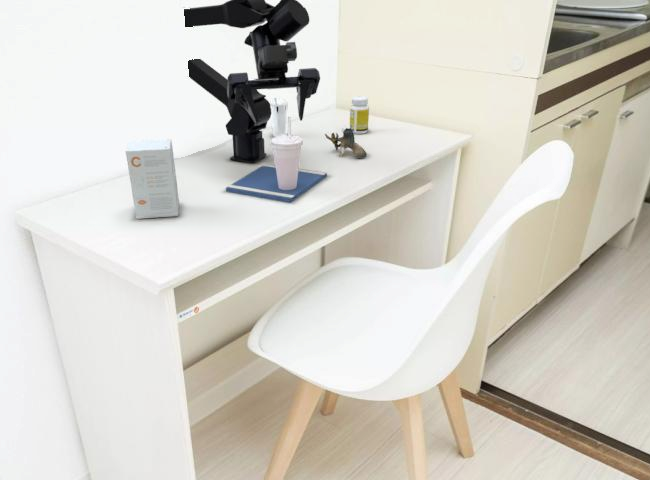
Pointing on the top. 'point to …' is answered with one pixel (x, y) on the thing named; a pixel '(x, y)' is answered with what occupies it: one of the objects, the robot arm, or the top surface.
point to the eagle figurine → (347, 143)
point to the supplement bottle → (359, 115)
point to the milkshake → (279, 116)
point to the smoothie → (287, 158)
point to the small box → (153, 178)
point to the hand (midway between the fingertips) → (279, 121)
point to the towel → (274, 184)
